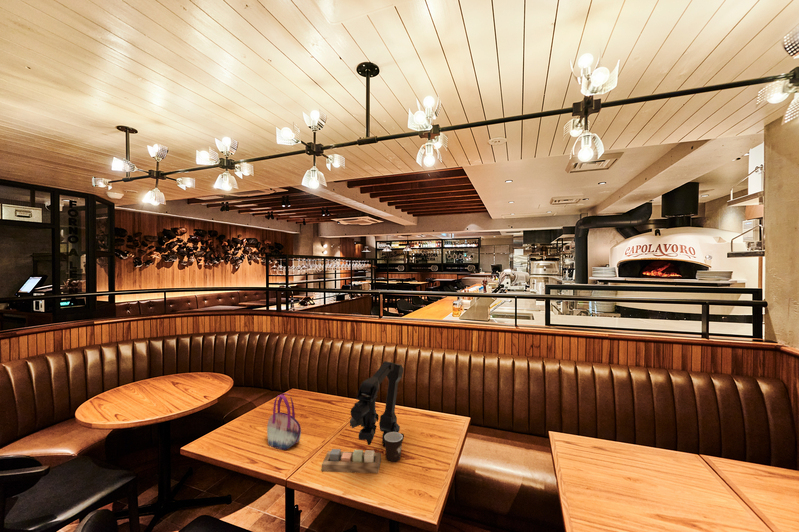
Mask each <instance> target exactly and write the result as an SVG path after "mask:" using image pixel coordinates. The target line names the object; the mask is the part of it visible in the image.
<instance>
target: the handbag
mask: <svg viewBox="0 0 799 532" xmlns="http://www.w3.org/2000/svg"><path fill="white" fill-rule="evenodd" d="M286 395H288V396H289V397H290V401H291V402H290V403H291V406H290V403H289V400H288V398H287V397H286ZM277 400H278V401H277ZM282 400H283V402H284V405H285V406H286V410H287V413H286V412H283V411H282V412H281V403H282ZM276 407H277V410H276ZM272 409H273V411H272V414H271V415H270V416H269V418H268V421H267V426H266V433H267V436H266V437H267V444H268V446H269V447H271V448H274V449H278V450H281V451H287V450H288V449H290V448H291V447H292V446H294V445H296V444H297V443H298V442H300V439H301V435H302V428H301V424H300V423H299V421H298V420H297V419H296V416H295V415H296V413H295V406H294V401H293V398H292V396H290V394H289V393H288V392H287V393H285V392H283V393H281V394H279V395H277V396H276V398H275V399H274V401H273V408H272ZM276 411H277V412H276Z"/></svg>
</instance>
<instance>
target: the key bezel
mask: <svg viewBox="0 0 799 532" xmlns="http://www.w3.org/2000/svg"><path fill="white" fill-rule="evenodd" d="M330 452H331V450H328V451H327V453H326V455H325V457H324V459H323V461H322V463H321V472H332V473H333V472H335V473H355V472H356V473H361V474H379V472H380V466H381V461H382V452H374V463H365V462H364V454H365V451H363V461H362V462H341V458H340V461H330ZM353 452H354V451H341V457H342V455H343V453H352V461H353Z"/></svg>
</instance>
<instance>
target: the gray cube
mask: <svg viewBox="0 0 799 532" xmlns="http://www.w3.org/2000/svg"><path fill="white" fill-rule="evenodd" d="M330 451H331V452H330V461H339V462H341V461H340V458H341V452H342V451H341V448H332V449H331V450H330Z"/></svg>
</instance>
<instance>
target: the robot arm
mask: <svg viewBox="0 0 799 532" xmlns="http://www.w3.org/2000/svg"><path fill="white" fill-rule="evenodd" d="M403 374H404V367H403V365H402V364H398V363H394V362H392V361H383V362H382V364H381V366H380V367H379V369H377V370H376V372H375V373H374V374H372V376H371V377H369V378H366V379H365V380H363V381H362V383H361V384H360V386H359V389H358V391H357V394H356V398H355V399H356V400H357V401H356V402H355V403H354V406H352V407H351V410H350V416H351V418H350V420H349V427H351V429H355V428H357V427H359V426H360V427H361V429H360V430H359V433H358V440H359V441H366V443H367V445H368V446H370V445H371V444H372V442H373V440H374V437H375V434H376V430H377V424H376V423H377V422H378V427H379V430H380V432H382V435H381V436H382V441H381V442H382V447H384V448H385V440H384V436H385V435H386V434H387V433H389V432H398V433H400V430H401V427H400V425H399V424H398V423H397V421H398V418H397V415H396V413H395V410H396V402H397V395H398V388H399V387H398V386H399V382H400V381H401V379H402V378H403ZM386 377H387V380H388V384H387V385H388V386H387V392H386V399H385V408H384V412H383V413H382V414H381V415H380V416H379V414H378V413H377V409H376V399H377V398H378V392H379V390H380V385H381V384H382V382H383V381H384V380H385V378H386Z"/></svg>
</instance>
